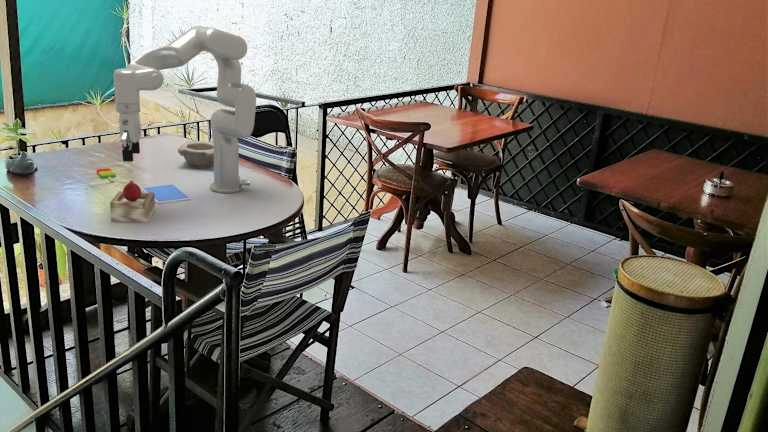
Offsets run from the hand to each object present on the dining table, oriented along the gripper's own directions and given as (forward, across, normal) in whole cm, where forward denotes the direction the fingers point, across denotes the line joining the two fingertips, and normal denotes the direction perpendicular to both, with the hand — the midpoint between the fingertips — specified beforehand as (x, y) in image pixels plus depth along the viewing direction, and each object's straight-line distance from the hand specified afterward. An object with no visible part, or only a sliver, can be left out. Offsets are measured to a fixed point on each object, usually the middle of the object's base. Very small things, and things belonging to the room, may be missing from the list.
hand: (131, 157), depth 231 cm
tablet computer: (+22, +23, -6) cm, 32 cm away
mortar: (+22, +64, -14) cm, 69 cm away
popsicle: (+22, +43, +20) cm, 52 cm away
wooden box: (+21, -1, 0) cm, 21 cm away
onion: (+16, 0, 0) cm, 16 cm away
